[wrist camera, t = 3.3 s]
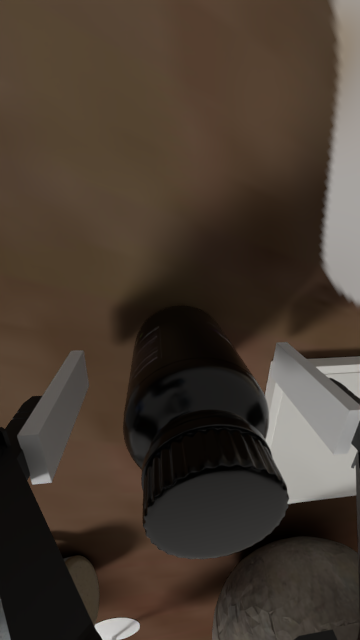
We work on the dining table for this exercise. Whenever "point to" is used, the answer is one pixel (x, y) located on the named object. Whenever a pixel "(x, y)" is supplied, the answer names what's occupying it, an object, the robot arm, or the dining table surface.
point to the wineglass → (117, 628)
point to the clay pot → (291, 592)
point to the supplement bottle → (200, 439)
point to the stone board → (310, 440)
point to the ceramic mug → (84, 583)
